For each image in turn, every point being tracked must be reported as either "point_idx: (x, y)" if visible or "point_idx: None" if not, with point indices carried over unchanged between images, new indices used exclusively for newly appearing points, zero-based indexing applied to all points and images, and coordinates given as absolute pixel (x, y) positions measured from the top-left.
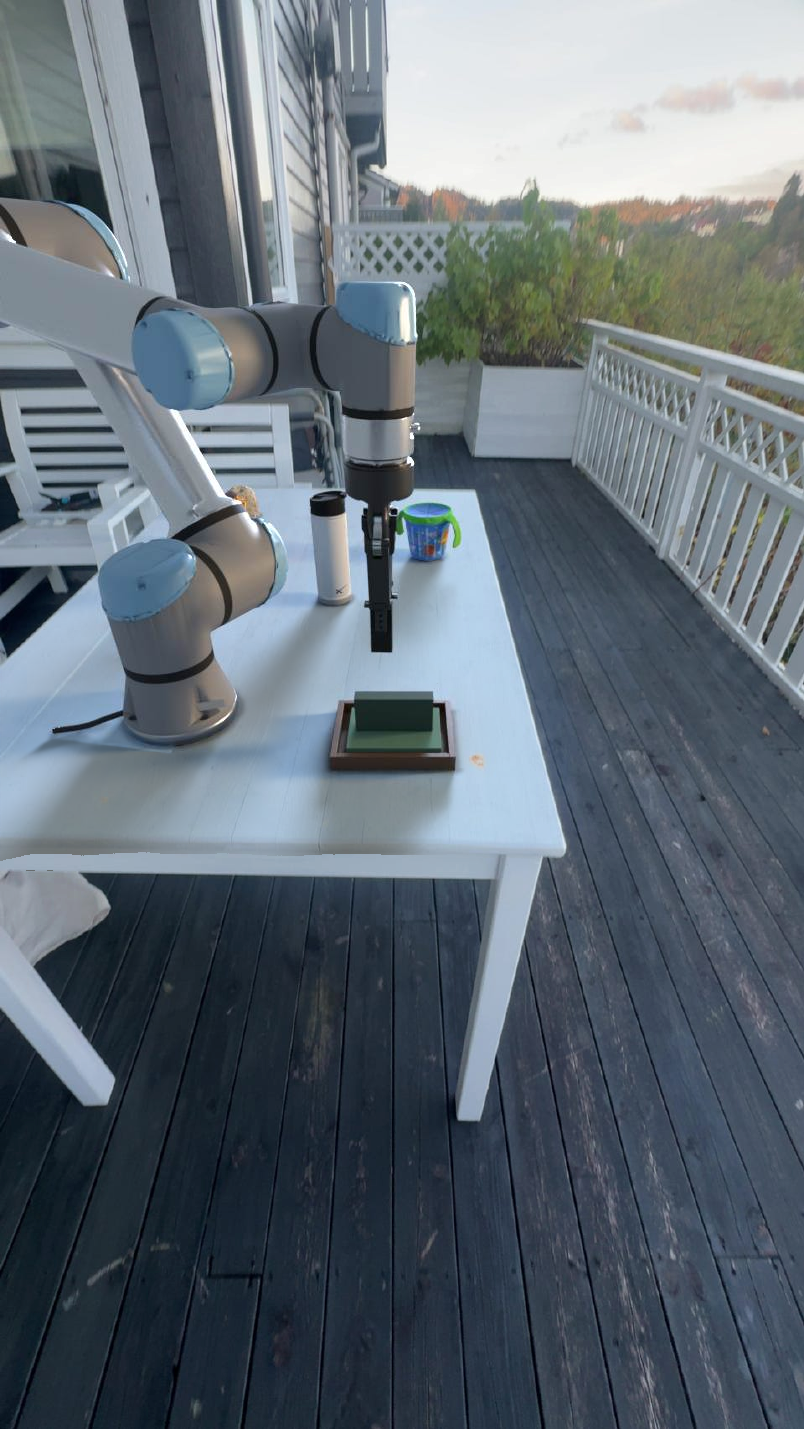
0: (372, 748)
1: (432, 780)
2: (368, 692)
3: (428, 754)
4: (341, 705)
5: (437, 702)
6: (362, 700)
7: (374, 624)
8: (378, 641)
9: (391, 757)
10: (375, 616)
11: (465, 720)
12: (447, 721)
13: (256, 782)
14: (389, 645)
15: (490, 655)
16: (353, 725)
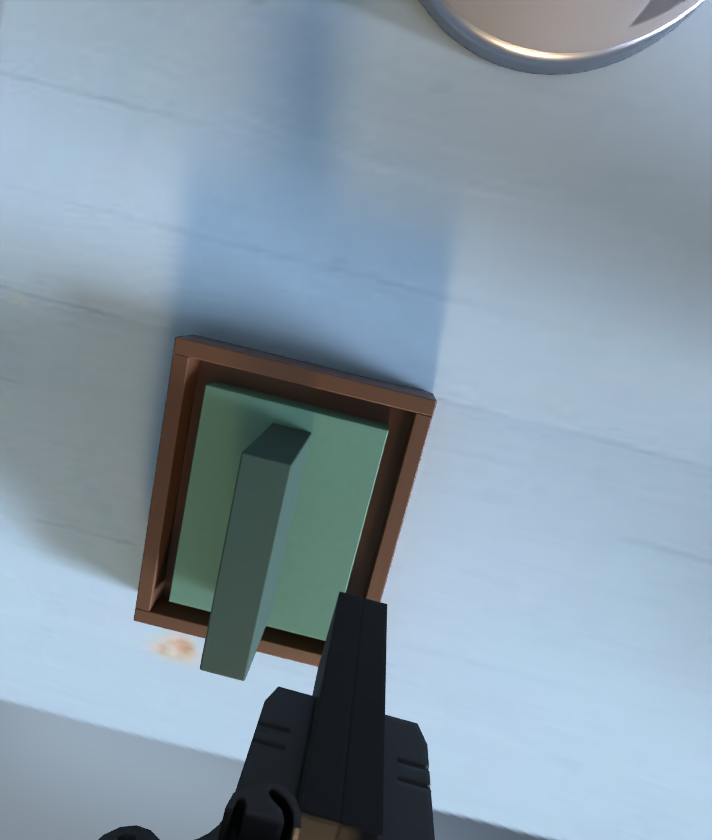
0: (195, 449)
1: (126, 546)
2: (273, 503)
3: (150, 568)
4: (405, 403)
5: None
6: (237, 476)
7: (313, 713)
8: (324, 654)
9: (153, 486)
10: (240, 779)
11: None
12: (268, 644)
13: (175, 136)
14: (316, 680)
15: (587, 815)
16: (300, 420)
